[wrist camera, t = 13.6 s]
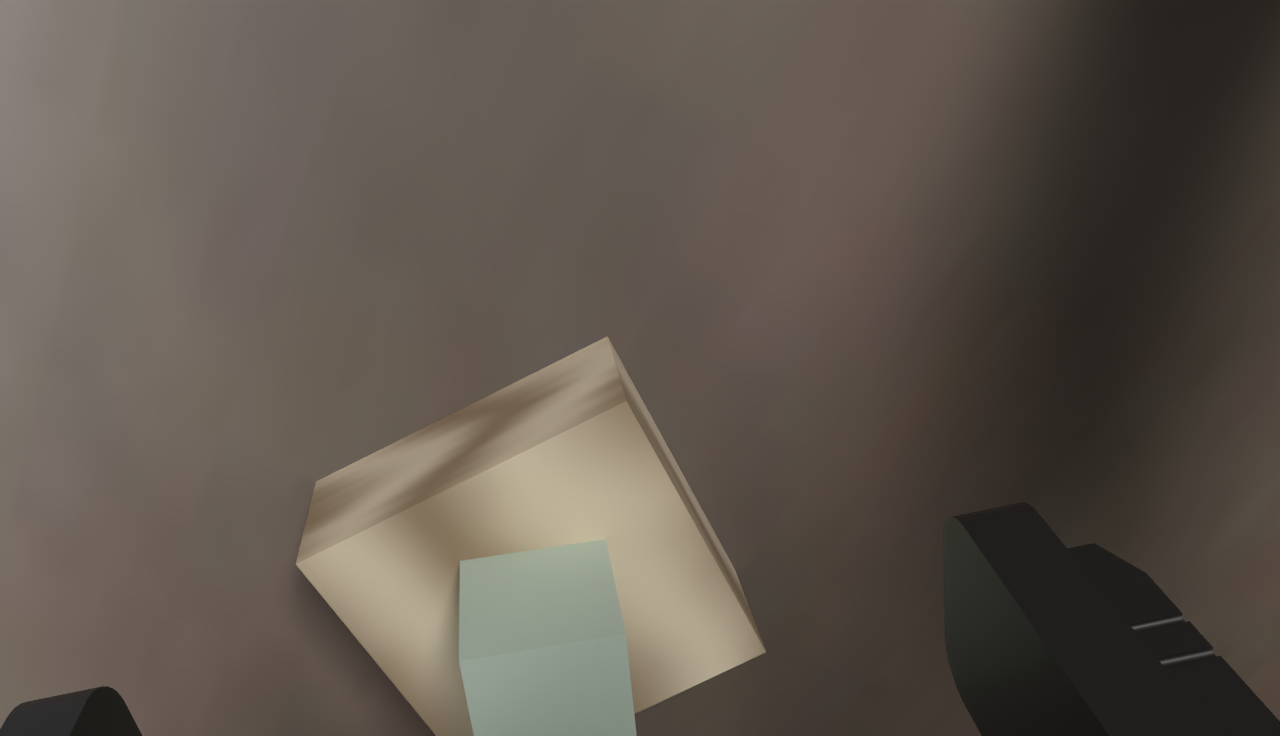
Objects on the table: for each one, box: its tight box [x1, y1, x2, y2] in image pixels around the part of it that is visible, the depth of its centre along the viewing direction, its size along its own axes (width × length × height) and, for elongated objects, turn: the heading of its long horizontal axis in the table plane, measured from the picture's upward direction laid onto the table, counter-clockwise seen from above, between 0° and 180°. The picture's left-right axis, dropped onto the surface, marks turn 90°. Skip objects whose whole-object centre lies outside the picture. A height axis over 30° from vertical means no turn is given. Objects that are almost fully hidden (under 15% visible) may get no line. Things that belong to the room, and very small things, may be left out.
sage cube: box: [459, 539, 637, 736], centre depth 31 cm, size 4×4×4 cm
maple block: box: [296, 337, 766, 736], centre depth 35 cm, size 11×11×5 cm
